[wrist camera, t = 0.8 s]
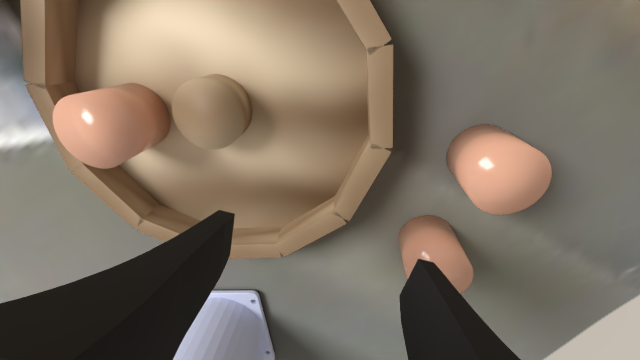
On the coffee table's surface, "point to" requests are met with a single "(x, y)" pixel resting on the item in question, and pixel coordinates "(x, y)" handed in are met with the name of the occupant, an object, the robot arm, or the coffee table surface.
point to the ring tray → (274, 76)
